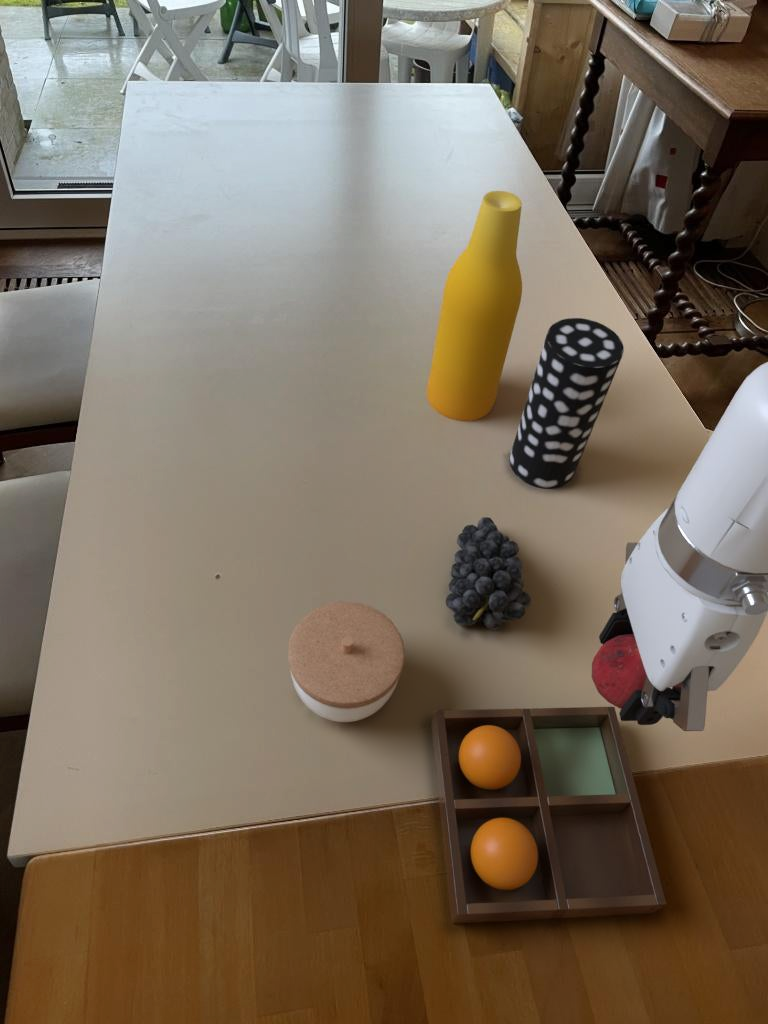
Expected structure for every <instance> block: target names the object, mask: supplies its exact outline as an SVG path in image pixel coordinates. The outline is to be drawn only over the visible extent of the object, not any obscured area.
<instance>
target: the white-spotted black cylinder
mask: <svg viewBox="0 0 768 1024" xmlns="http://www.w3.org/2000/svg"><path fill="white" fill-rule="evenodd" d="M624 349H625V347H624V343H623V340H622V339H621V338H620V337H619V335H618V334H617V333H616V332H615V331H614V330H612V329H611V328H610V327H608V326H607V325H604V324H603V323H600V322H598V321H596V320H591V319H587V318H583V317H571V318H569V317H568V318H563V319H560V320H558V321H556V322H554V323H552V324H551V326H550V327H549V328H548V330H547V332H546V335H545V338H544V342H543V345H542V349H541V352H540V355H539V359H538V361H537V365H536V369H535V371H534V375H533V378H532V382H531V385H530V388H529V392H528V394H527V398H526V401H525V404H524V408H523V411H522V415H521V418H520V421H519V424H518V428H517V431H516V434H515V438H514V440H513V445H512V447H511V451H510V454H509V460H508V461H509V465H510V468H511V470H512V472H513V473H514V474H515V476H516V477H517V478H518V479H520V480H521V481H522V482H524V483H525V484H527V485H529V486H532V487H534V488H537V489H543V490H554V489H559V488H562V487H564V486H566V485H568V484H569V483H570V482H571V481H572V479H573V478H574V477H575V473H576V472H577V469H578V466H579V463H580V461H581V459H582V456H583V453H584V452H585V449H586V446H587V445H588V441H589V439H590V436H591V434H592V431H593V429H594V427H595V424H596V421H597V419H598V417H599V414H600V412H601V409H602V407H603V404H604V402H605V399H606V398H607V395H608V393H609V390H610V387H611V385H612V382H613V380H614V378H615V375H616V372H617V370H618V368H619V366H620V362H621V360H622V359H623V355H624V351H625V350H624Z"/></svg>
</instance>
